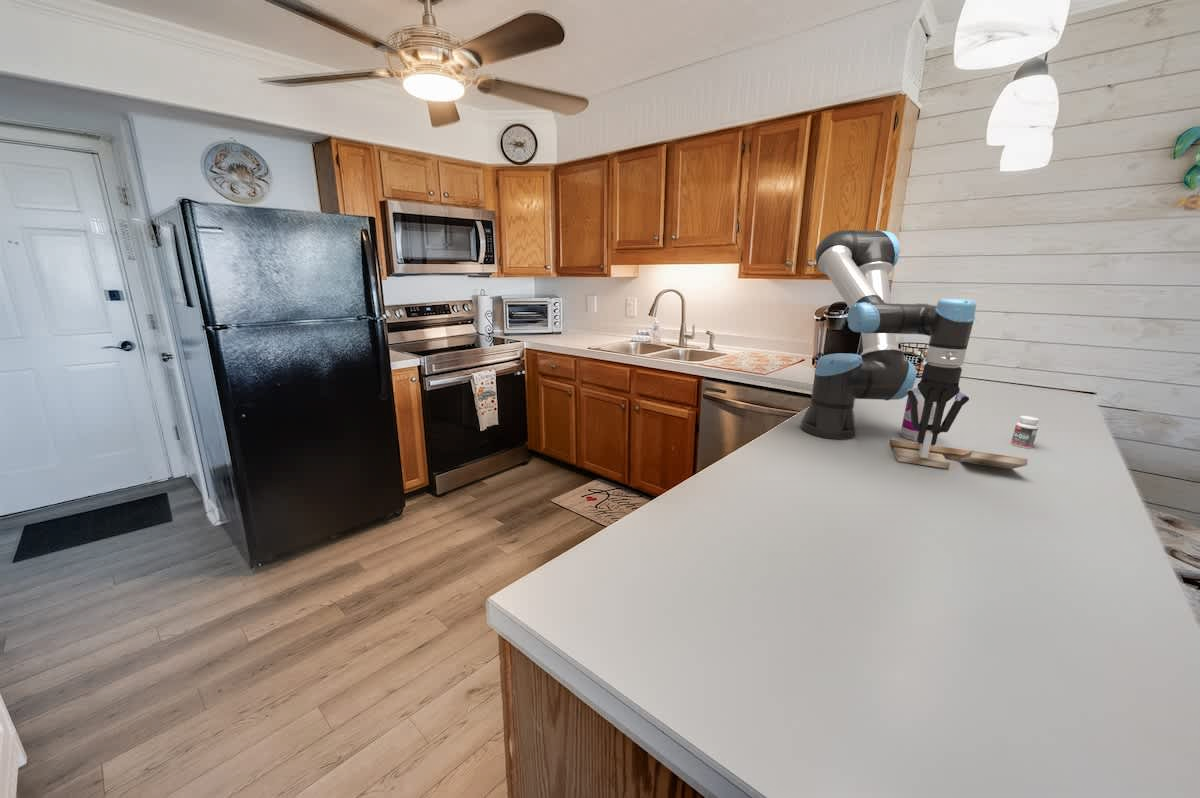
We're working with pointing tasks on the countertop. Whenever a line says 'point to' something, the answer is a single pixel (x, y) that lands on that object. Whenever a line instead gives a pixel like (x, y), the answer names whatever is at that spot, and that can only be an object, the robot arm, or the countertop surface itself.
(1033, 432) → the pill bottle
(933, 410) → the supplement can
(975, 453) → the plank
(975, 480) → the countertop surface
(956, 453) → the laid board
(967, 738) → the countertop surface
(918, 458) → the plank
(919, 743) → the countertop surface
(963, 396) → the robot arm
